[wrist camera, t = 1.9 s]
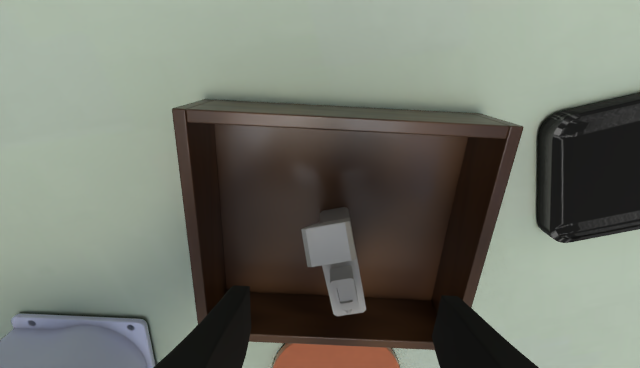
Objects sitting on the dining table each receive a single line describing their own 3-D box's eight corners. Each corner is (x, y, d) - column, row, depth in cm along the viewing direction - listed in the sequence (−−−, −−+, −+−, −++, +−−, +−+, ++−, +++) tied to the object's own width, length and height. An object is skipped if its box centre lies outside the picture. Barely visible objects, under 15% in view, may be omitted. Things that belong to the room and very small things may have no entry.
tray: (220, 293, 21) (199, 339, 18) (204, 98, 17) (171, 108, 13) (436, 303, 22) (459, 351, 18) (480, 113, 17) (524, 126, 13)
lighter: (358, 262, 20) (378, 380, 12) (331, 267, 20) (337, 385, 13) (339, 159, 17) (350, 229, 10) (309, 165, 18) (299, 238, 10)
